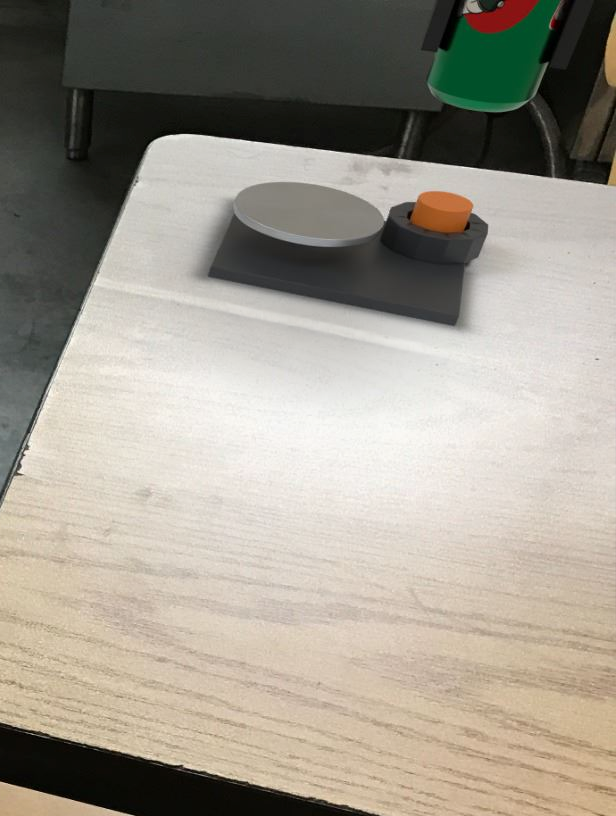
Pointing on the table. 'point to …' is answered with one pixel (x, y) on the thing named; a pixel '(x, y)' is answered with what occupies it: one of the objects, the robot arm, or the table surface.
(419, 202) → the tare button
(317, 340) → the table surface
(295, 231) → the weighing pan
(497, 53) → the soda can
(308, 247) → the scale
